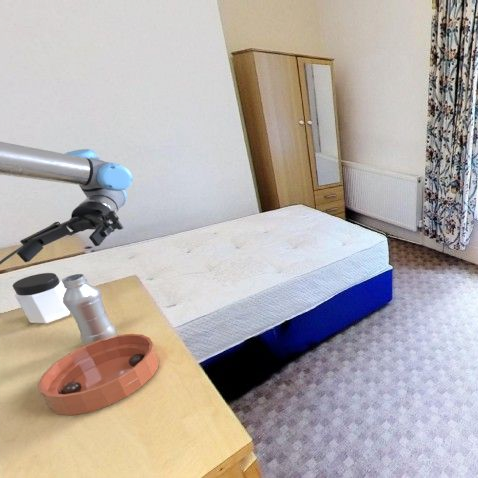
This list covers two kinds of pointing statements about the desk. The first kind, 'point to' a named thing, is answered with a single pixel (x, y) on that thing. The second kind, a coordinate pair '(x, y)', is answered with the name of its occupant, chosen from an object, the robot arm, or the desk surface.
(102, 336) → the plastic bottle
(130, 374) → the bowl
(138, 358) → the bead
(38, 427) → the desk surface
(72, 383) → the bead
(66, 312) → the jar
